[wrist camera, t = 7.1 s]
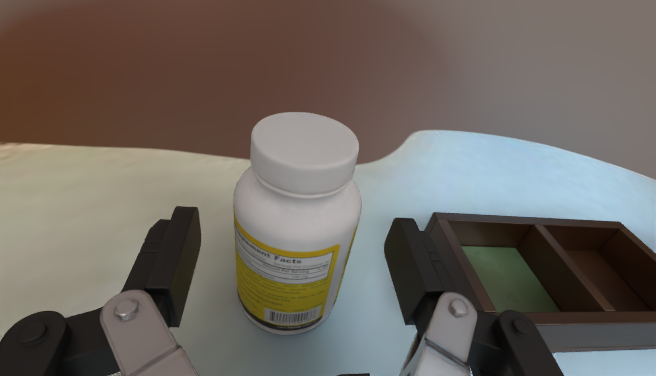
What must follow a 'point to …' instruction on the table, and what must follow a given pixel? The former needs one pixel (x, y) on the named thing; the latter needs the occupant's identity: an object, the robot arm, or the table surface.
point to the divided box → (555, 276)
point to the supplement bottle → (295, 220)
